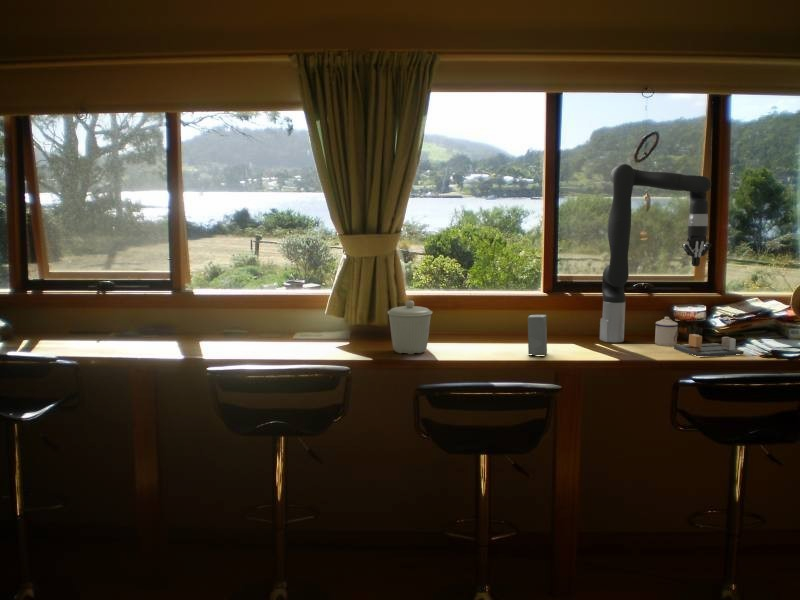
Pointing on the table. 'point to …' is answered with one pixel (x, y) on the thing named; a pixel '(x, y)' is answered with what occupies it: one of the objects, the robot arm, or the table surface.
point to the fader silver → (728, 343)
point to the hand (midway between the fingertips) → (695, 266)
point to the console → (707, 350)
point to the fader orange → (695, 340)
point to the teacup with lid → (666, 332)
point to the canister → (409, 328)
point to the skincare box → (537, 334)
